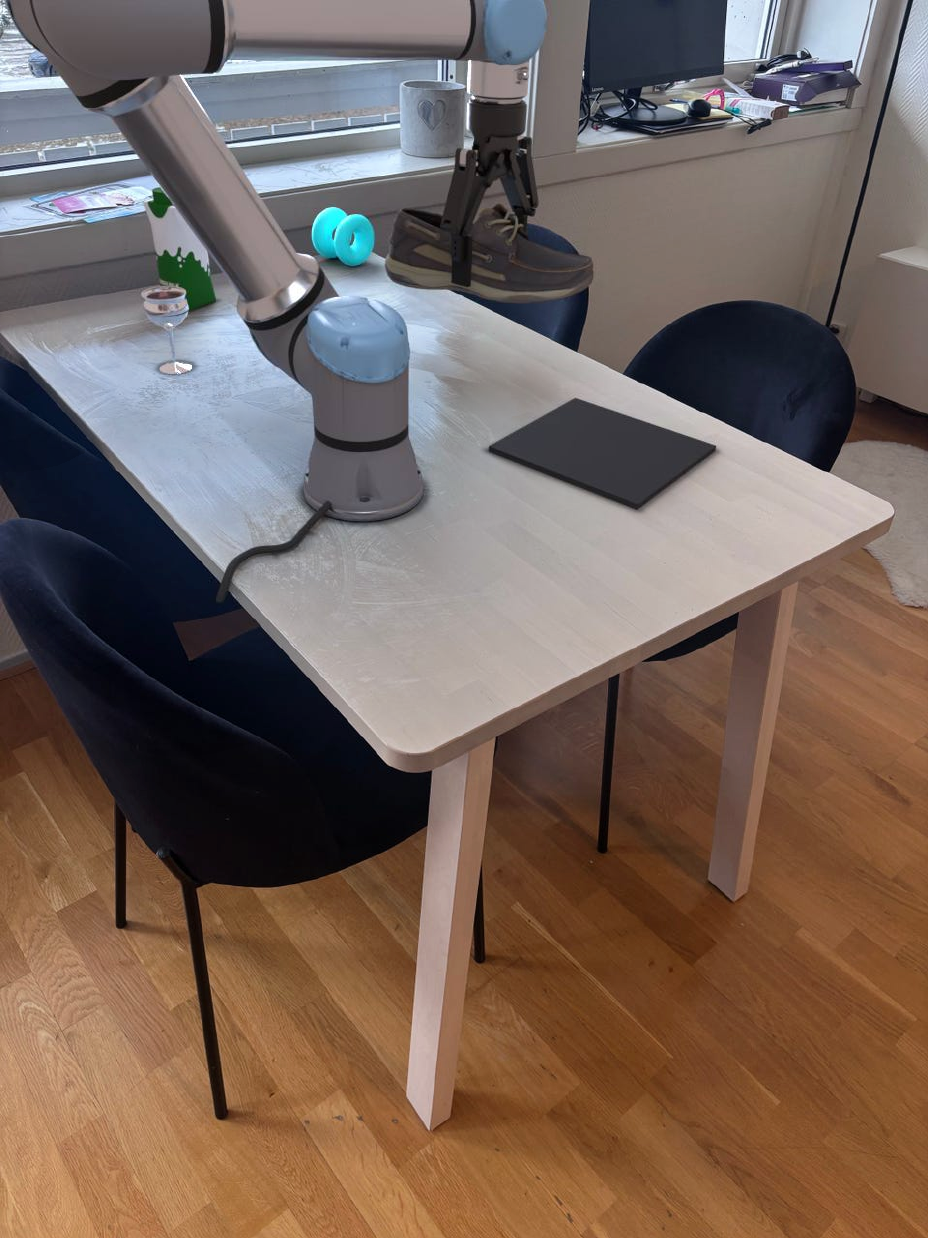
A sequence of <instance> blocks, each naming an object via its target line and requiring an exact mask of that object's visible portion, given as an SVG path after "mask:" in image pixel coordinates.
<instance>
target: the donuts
mask: <svg viewBox="0 0 928 1238" xmlns="http://www.w3.org/2000/svg"><path fill="white" fill-rule="evenodd" d="M334 231H335V233H334ZM333 233H334V238H333ZM353 235H354V240H353V242H352V244H351V241H352V237H353ZM311 240H312V244H313V247H314V248H315V250H316V252H317V253H318V254H319V255H320V256H322V257H324V258H327V259H336V258H338V259H339V260H340V262H342V263H343V264H345V265H347V266H349V267H357V266H360V265H362V264H364V263H365V262H366V261H368V259H369V258H370V256H371V254H372V252H373V250H374V246H375V230H374V226H373V224H372V223H371V221H370V220H369V219H368V218H367V217H366V216H364V215H362V214H358V213H357V214H350V215H348V214H347V213H346V212H345V210H342V209H341V208H339V207H327V208H325V209H324V210H321V212H320V213H319V214H318V215H317V216H316V218H315V219H314V222H313V224H312V229H311ZM350 244H351V245H350Z"/></svg>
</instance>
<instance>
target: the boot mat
mask: <svg viewBox="0 0 928 1238" xmlns="http://www.w3.org/2000/svg"><path fill="white" fill-rule="evenodd" d="M716 450H717V445H715V444H712V443H710V442H706V441H703V440H702V439H701V440H700V439H698V438H695V437H692V436H689V435H686V434H684V433H680V432H677V431H674V430H671V429H669V428H665V427H663V426H659V425H657V424H654V423H651V422H648V421H645V420H642V419H639V418H635V417H632V416H630V415H627V414H624V413H622V412H618V411H615V410H613V409H610V408H607V407H605V406H601V405H597V404H595V403H592V402H589V401H586V400H583V399H581V398H578V397H574V398H572V399H570V400H568V401H567V402H565V403H564V404H562V405H559V406H558V407H557V408H555V409H552V410H551V411H549V412H547V413H545V414H544V415H542V416H540V417H538V418H536V419H535V420H533V421H531V422H529V423H528V424H526V425H524V426H522V427H521V428H518V429H517V430H515V431H514V432H512V433H510V434H508V435H506V436H505V437H503V438H501V439H499V440H497V441H495V442H494V443H491V444H490V445H489V446H488V452H490V453H493V454H494V455H498V456H499V457H503V458H505V459H508V460H510V461H513V462H515V463H518V464H520V465H523V466H526V467H527V468H531V469H533V470H536V471H538V472H541V473H543V474H546V475H548V476H550V477H554V478H556V479H558V480H561V481H564V482H566V483H569V484H571V485H574V486H575V487H579V488H581V489H583V490H587V491H589V492H592V493H594V494H596V495H599V496H602V497H604V498H606V499H608V500H609V499H610V500H612V501H615V502H617V503H619V504H621V505H625V506H627V507H629V508H632V509H635V510H638V509H640V508H641V507H643V506H644V505H645V504H647V503H648V502H649V501H650V500H652V499H653V498H654V497H656V496H658V495H659V494H660V493H661V492H662V491H664V490H665V489H667V488H668V487H669V486H670V485H672V484H673V483H675V482H676V481H677V480H678V479H680V478H681V477H682V476H684V475H686V473H688V472H689V471H690V470H692V469H693V468H695V467H696V466H698V464H700V463H701V462H702V461H704V460H705V459H707V458H708V457H709V456H711V455H712V454H714V452H715V451H716Z"/></svg>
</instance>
